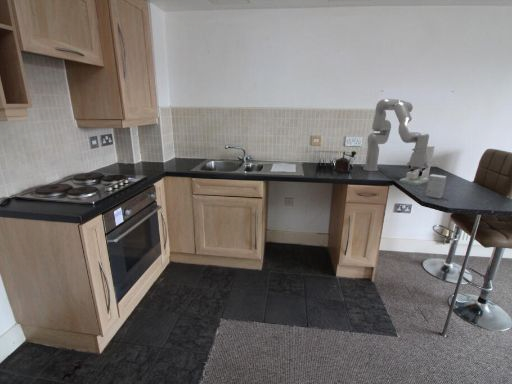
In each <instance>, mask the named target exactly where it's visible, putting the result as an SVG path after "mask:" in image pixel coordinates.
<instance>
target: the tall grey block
mask: <svg viewBox="0 0 512 384" xmlns="http://www.w3.org/2000/svg"><path fill="white" fill-rule="evenodd" d="M435 147H436V146H435V145H429V144H428V145H427V150H426V153H427V162H426V163H427V165H428V167H429V168H427V169H425V174H424V175H423V176H420V177H424V178H429V176H430V170H431V167H432V163H433V161H432V160H433V155H434V152H435ZM423 168H425V167H423ZM418 169H420V167H418Z"/></svg>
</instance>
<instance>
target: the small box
mask: <svg viewBox="0 0 512 384" xmlns="http://www.w3.org/2000/svg"><path fill="white" fill-rule="evenodd" d="M428 178H429V180H428V182H427V186H426V192H425V197H429V198H436V199H441V198H442V197H443V196H444V191H445V187H446V186H445V185H446V182H447V178H448V177H447V175H440V174H434V173H432V174H429V177H428Z"/></svg>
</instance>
